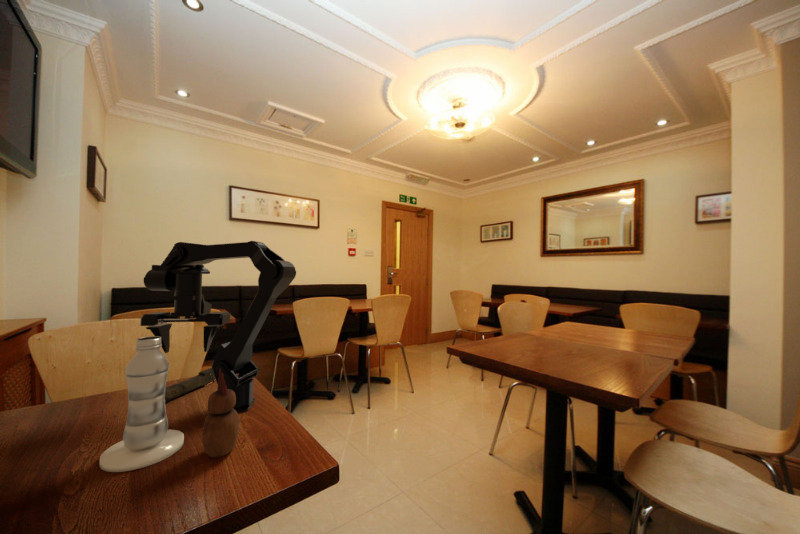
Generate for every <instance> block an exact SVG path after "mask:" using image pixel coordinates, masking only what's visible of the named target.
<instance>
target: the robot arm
mask: <svg viewBox="0 0 800 534" xmlns="http://www.w3.org/2000/svg"><path fill="white" fill-rule="evenodd" d="M247 258H249V259H250V261H251V262H252V264H253V266H254V268H256V270H258V271H259V272H260V273H259V275H258V278H257V279H258V280H257V282H258V286H257V287H258V289H257V292H256V294H255V297H254V298H253V300H252V301H251V304H250V306H249V307H248V310H247V311H246V313H245V316H244V318H243V320H242V321H241V323H240V325H239V327H238V329H237V331H236V333H235V335H234V337H233V339H232V340H231V341H228V342H224V343H222V344H220V345H218V347H217V350H216V353H215V355H214V356H213V357H212V358H211V360H212V363H211V368H212V369H213V372H214V374H215V378H216V381H215V382H216V384H217V385H218V378H219V369H221V374H222V373H223V377H224V380H225V385H226V387H227V389H231V390H233V391H234V392H235V395H236V404H235V406H234V408H233V409H235V410H236V412H237V413H238V412H247V411H249V409H250V408H251V406H252V405H253V404H254V403H255V402H256V398H254V379H255V378H257V377H258V374H259V371H260V368H259V367H257V365H256V363H254V361H252V358H253V346H254V345H253V344H254V342H255V340H256V339H257V336H258V335H259V333H260V331H261V329H262V327H263V325H264V323H265V321H266V319H267V317H268V316H269V314H270V312H271V310H272V308H273V307H274V304H275V302H276V300H277V298H278V297H279V296H280V295H281V294H282V293H283V292H285V290H286V289H288V288H289V286H290V285H291V283H292V282H293V281H294V279H295V278H296V276H297V271H296V267H295V265H294V264H293V263H292V262H290V261H288V260H285V259H284V258H283V257H282V256H281V255H279V254H278V253H276V252H275V251H273V250H272V249H271V248H270V247H269V246H267V245H266V244H265V243H264V242H260V241H257V240H250V241H245V242H244V241H243V242H230V243H218V244H217V243H216V244H200V243H191V242H183V241H178V242H175V243H174V246H173V247H172V249H171V250H170V251H169V252H168V254H167V255H166V257H165V258H164V260H163V261H162V263H161V264H152V265H151V269H150V270H148V271H147V272H146V273H145V276H144V277H143V284H144V287H145V288H146V289H147V290H149V291H157V292H158V291H160V292H162V291H164V292H166V291H167V292H174V295H171V301H174V304H173V305H174V306H173V312H170V311H154V312H153V311H152V312H148V313H144V314H143V315H142V316H141V317H140V321H139V322H140V326H141V327H145V329H146V330H149V331H150V332H151V333H152V335H153V336H160V337H161V344H162V347H161V349H162V350H163V353H164V354H168V353H169V352H170V348H171V342H170V341H171V339H170V338H171V337H170V336H171V335H170V331H171V328H172V325H173V323H199V322H200V323H205V324H206V325H204V326H203V351H204V353H207V352H209V349H210V346H211V345H212V342H213V339H214V337H215V335H216V333H217V331H218V330H219V328H220V327H223V326H225V324H227V323H230V322H231V314H230V312H229V311H212V312H211V310H212V306H213V305H212V303H210V302H208V301H206V300H205V295H204V294H202V292H203V291H202V290H203V289H202V286H203V285H202V284H203V275H210V274H211V272H210V270H209V269H207V267H205V265H206V264H210V263H212V262H214V261H218V260H231V259H235V260H236V259H247ZM254 401H255V402H254ZM253 402H254V403H253Z"/></svg>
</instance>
